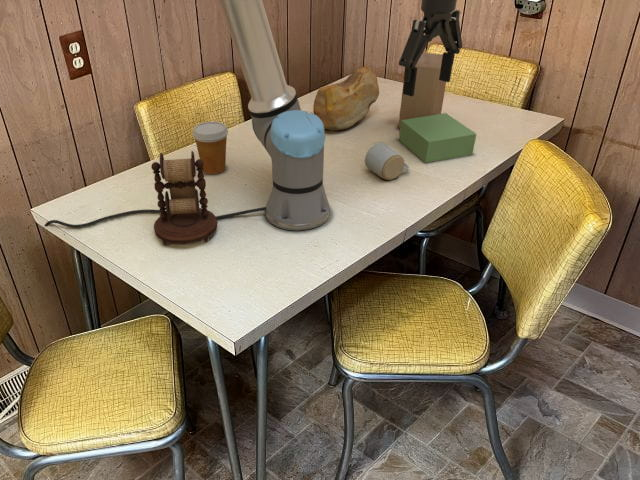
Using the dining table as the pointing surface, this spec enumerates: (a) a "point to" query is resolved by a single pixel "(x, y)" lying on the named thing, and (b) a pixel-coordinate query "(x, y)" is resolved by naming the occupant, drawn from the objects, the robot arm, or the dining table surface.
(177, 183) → the wooden thread spool stand
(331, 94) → the rough brown rock
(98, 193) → the dining table surface
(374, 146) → the ceramic mug
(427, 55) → the wooden block
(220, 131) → the disposable coffee cup
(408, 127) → the green block
